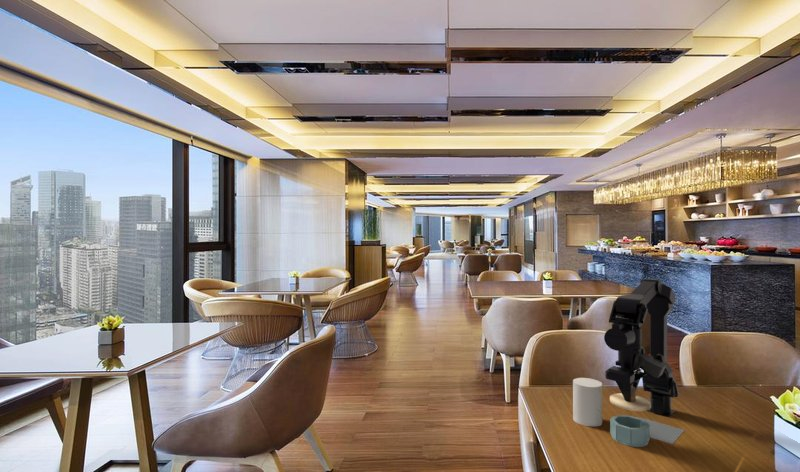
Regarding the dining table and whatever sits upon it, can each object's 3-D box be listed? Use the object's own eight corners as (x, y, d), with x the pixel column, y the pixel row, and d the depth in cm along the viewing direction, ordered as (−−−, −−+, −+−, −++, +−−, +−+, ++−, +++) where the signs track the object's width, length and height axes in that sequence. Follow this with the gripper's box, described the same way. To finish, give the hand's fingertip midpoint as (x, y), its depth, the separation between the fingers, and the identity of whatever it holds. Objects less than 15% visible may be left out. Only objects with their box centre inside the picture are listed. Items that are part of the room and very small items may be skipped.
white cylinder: (605, 428, 125) (605, 387, 125) (575, 426, 127) (575, 386, 127) (598, 417, 133) (598, 378, 133) (570, 415, 135) (570, 377, 135)
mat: (639, 418, 132) (639, 417, 132) (684, 431, 124) (684, 430, 124) (624, 430, 124) (624, 429, 124) (672, 445, 115) (672, 444, 115)
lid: (617, 394, 126) (617, 378, 126) (655, 403, 118) (655, 387, 118) (604, 403, 119) (604, 387, 119) (643, 414, 111) (643, 397, 111)
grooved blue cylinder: (618, 429, 125) (618, 412, 125) (653, 440, 118) (653, 422, 118) (606, 439, 119) (606, 421, 119) (641, 451, 112) (641, 432, 112)
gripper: (650, 356, 106) (650, 419, 106) (673, 342, 119) (673, 398, 119) (604, 347, 114) (604, 405, 114) (630, 335, 127) (630, 388, 127)
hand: (629, 399), depth 119 cm, fingers closed on lid, 3 cm apart
